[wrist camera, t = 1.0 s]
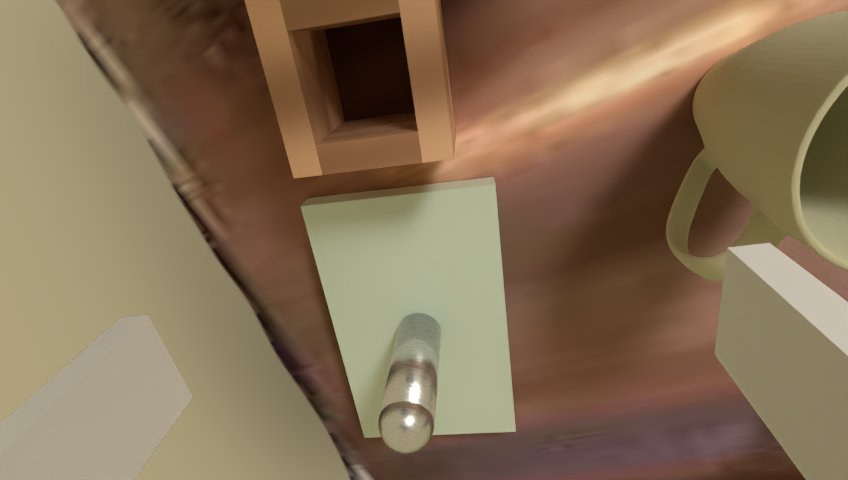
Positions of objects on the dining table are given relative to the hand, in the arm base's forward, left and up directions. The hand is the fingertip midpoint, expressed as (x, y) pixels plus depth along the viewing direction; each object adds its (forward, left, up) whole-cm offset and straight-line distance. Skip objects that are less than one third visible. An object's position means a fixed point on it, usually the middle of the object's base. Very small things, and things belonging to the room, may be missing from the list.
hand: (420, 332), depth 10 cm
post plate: (+12, -3, -19) cm, 22 cm away
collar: (-5, -3, -19) cm, 19 cm away
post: (+12, -3, -17) cm, 21 cm away
